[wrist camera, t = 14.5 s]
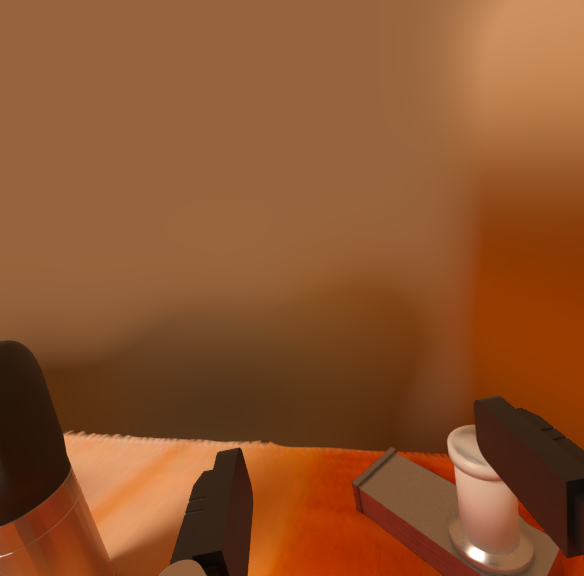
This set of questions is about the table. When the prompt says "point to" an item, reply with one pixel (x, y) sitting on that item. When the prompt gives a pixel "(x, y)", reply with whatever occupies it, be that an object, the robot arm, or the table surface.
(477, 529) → the white flanged cylinder
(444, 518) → the grey soap dish block
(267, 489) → the table surface
